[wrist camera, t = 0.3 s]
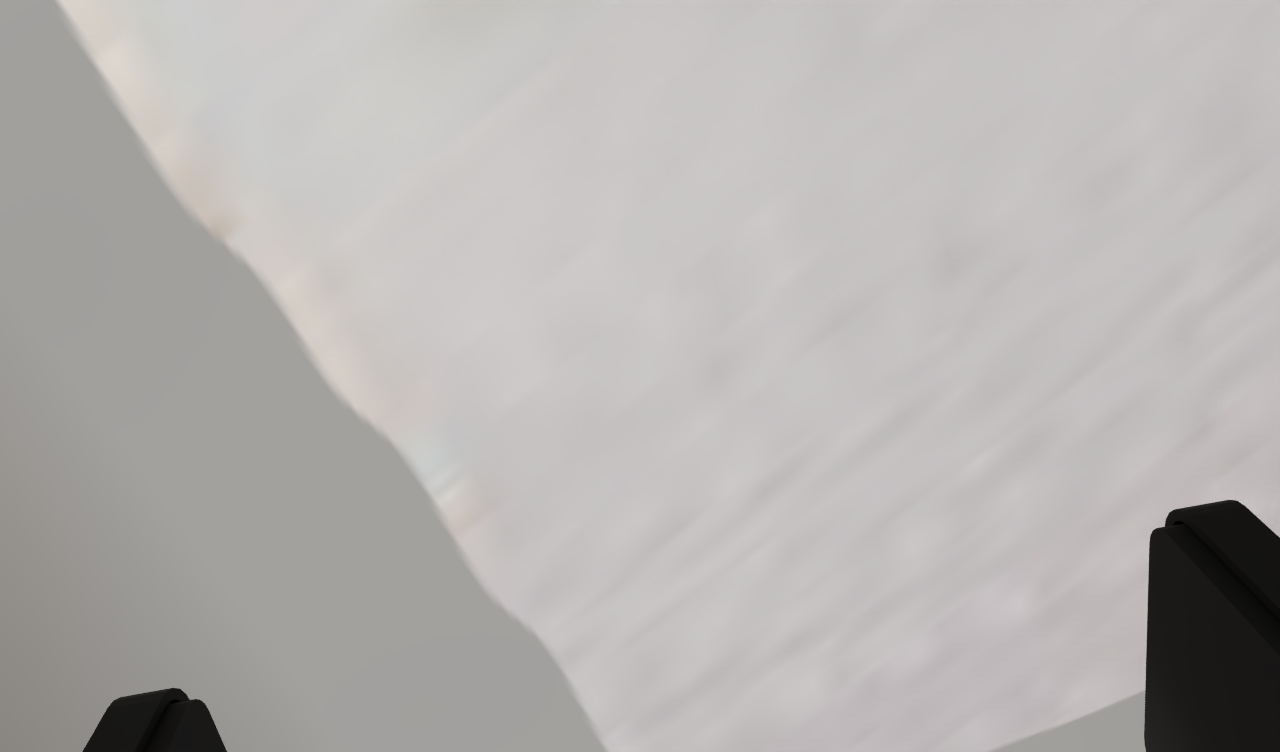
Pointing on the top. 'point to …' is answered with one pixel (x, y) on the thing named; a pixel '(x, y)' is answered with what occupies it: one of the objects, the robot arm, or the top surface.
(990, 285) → the top surface
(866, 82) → the top surface
